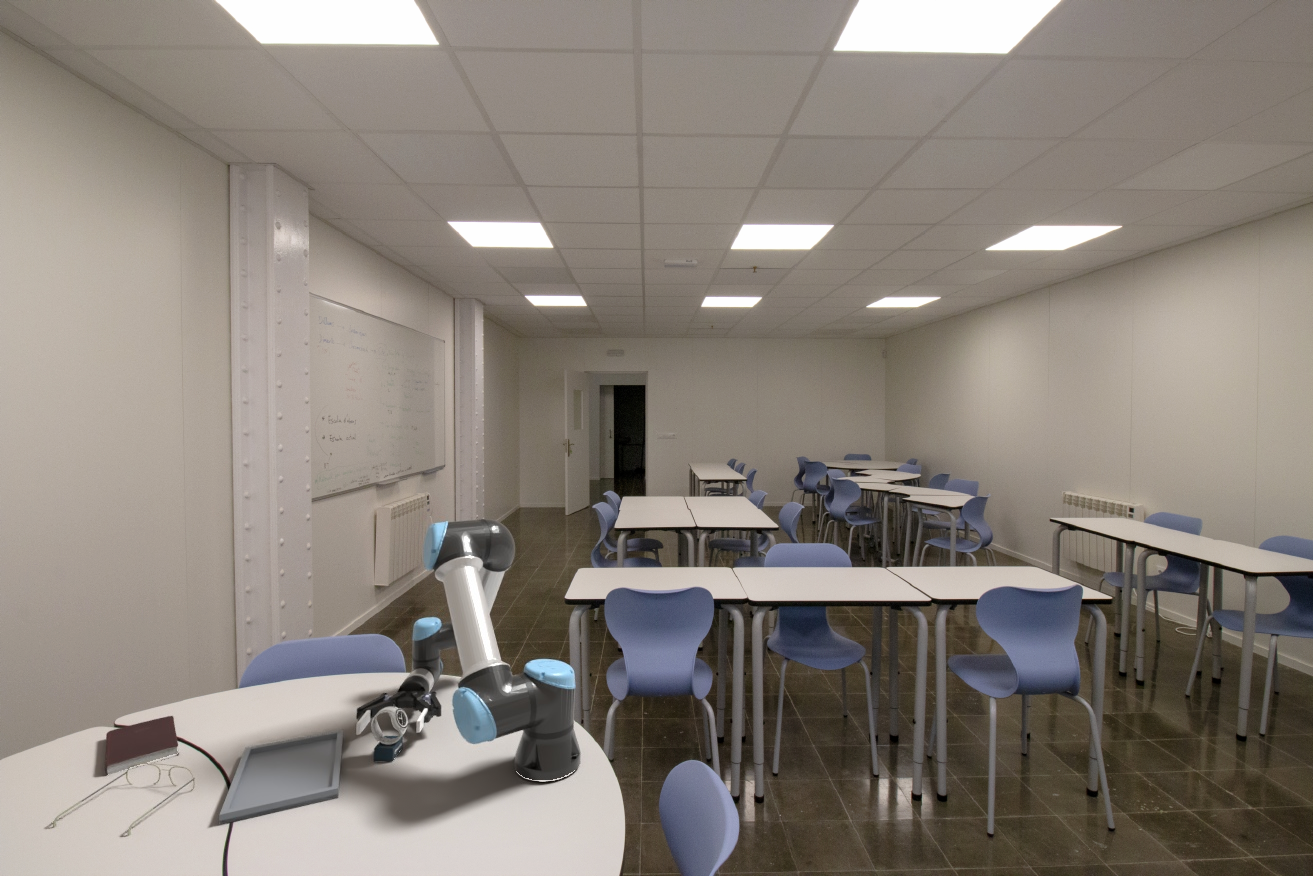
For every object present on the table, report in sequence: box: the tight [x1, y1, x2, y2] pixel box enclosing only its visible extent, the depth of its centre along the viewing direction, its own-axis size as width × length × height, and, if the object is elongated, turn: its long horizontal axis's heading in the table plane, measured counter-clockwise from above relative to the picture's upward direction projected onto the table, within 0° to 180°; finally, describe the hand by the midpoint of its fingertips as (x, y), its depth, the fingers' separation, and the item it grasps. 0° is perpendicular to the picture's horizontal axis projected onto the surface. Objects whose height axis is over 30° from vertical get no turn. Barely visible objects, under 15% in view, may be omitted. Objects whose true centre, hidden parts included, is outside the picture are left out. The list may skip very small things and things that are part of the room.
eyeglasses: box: [52, 762, 196, 837], centre depth 114 cm, size 16×15×5 cm
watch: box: [370, 706, 409, 762], centre depth 135 cm, size 6×8×11 cm
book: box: [104, 715, 180, 777], centre depth 135 cm, size 12×19×3 cm, turn 43°
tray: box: [218, 729, 344, 826], centre depth 126 cm, size 26×20×2 cm
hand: (388, 728), depth 135 cm, fingers open, 13 cm apart
